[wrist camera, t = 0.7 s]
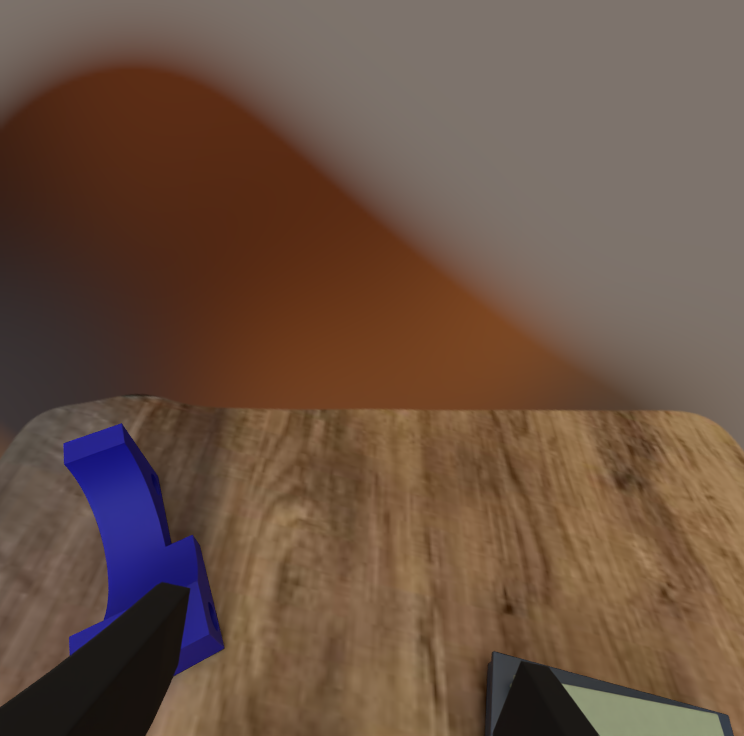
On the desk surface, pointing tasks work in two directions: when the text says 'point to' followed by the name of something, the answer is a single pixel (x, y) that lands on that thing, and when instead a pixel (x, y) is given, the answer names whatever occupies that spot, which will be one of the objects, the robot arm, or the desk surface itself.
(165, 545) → the blue curved piece
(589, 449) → the desk surface
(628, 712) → the box stack
